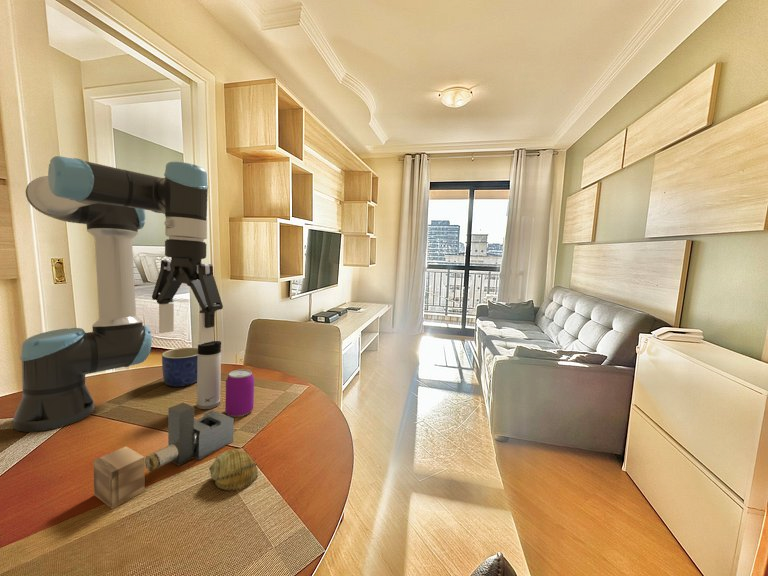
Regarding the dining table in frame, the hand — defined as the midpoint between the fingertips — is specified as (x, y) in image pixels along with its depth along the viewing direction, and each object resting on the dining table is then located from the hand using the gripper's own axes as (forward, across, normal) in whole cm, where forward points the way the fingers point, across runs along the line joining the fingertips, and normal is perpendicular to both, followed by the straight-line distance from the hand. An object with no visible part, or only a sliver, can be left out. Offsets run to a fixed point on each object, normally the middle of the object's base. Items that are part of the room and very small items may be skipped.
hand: (185, 337), depth 69 cm
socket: (+28, 0, -12) cm, 31 cm away
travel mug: (+29, -19, +20) cm, 39 cm away
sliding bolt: (+28, 0, +1) cm, 28 cm away
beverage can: (+29, -8, +22) cm, 37 cm away
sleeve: (+28, 0, +6) cm, 29 cm away
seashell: (+28, +15, +1) cm, 32 cm away
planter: (+29, -42, +26) cm, 57 cm away
